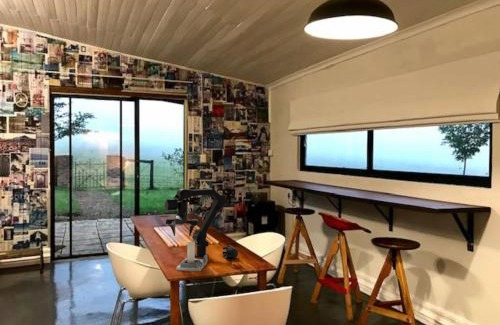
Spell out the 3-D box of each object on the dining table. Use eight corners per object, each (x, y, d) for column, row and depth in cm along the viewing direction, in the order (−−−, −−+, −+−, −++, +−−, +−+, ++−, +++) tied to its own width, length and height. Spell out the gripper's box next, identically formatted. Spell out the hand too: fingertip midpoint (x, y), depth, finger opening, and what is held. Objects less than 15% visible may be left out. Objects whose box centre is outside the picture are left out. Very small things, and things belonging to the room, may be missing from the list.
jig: (185, 260, 236) (185, 253, 236) (207, 261, 235) (207, 254, 235) (176, 270, 217) (176, 261, 217) (200, 271, 216) (200, 262, 216)
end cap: (238, 259, 241) (238, 248, 241) (226, 260, 239) (226, 249, 239) (233, 255, 251) (233, 244, 251) (222, 256, 249) (222, 245, 248)
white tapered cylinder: (193, 266, 224) (194, 241, 224) (194, 268, 220) (195, 243, 220) (186, 267, 223) (187, 241, 223) (187, 269, 219) (188, 243, 219)
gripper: (162, 211, 234) (162, 238, 235) (194, 212, 233) (194, 239, 233) (168, 208, 245) (168, 234, 246) (199, 209, 244) (198, 235, 244)
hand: (182, 236), depth 242 cm, fingers open, 9 cm apart
